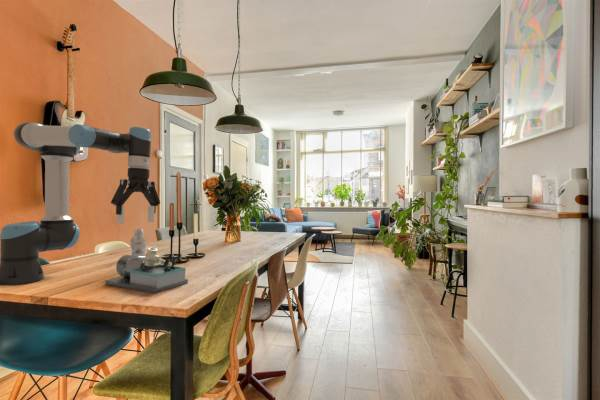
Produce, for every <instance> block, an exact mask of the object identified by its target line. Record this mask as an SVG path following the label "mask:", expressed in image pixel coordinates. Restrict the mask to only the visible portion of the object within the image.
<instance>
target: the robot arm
mask: <svg viewBox="0 0 600 400" xmlns="http://www.w3.org/2000/svg"><path fill="white" fill-rule="evenodd" d="M13 137H14V140H15V141H16V143H18V145H20V147H23V148H25V149H27V150H29V151H34V152H40V158H41V159H43V160H44V166H45V167H44V168H45V170H44V171H45V172H44V216H43V217H41V219H40V221H34V220H33V221H30V220H29V221H21V222H14V223H9V224H6V225H4V226H3V227H2V228H1V229H0V230H1V232H0V286H14V285H23V284H29V283H31V284H32V283H34V282H38V281H42V280H43V279H45V277H44V275H45V273H44V270H43V268H42V265H41V263H40V259H39V257H40V256H39V255H40V254H39V253H42V252H50V251H51V252H52V251H57V250H58V251H61V250H65V249H66V250H67V249H71V248H72V247H74V246H76V244H77V242H79V239H80V234H81V232H80V228H79V225H78V224H77V223H76V222H74V218H73V217H71V216H70V163H71V162H72V161H73V160H74V159H75V156H77V155H78V154H79V153H80V152H79V151H80V150H81V148H86V149H87V148H88V149H95V150H101V151H108V152H109V153H111V154H113V153H114V154H124V153H125V154H128V156H127V159H128V160H127V166H128V168H127V178H128V179H127V178H126V179H125V178H123V179H121V178H120V180H119V185H118V187H117V188H116V191H115V193H114V195H113V197H112V199H111V201H110V203H111V204H112V205H113V206H114V207H115V215H116V218H117V219H116V224H118V225H124V224H125V212H126V211H125V210H126V209H125V205H124V204H125V203H126V202H127V200H128V199H129V198H130V197H131V195H132V194H133V193H141V194H143V196H144V197H145V199H146V201H147V202H148V203H149V205H148V207H147V222H148V223H155V214H156V207H158V206H159V205H160V204H161V200H160V198H159V195H158V192H157V190H156V183H155V181H153V180H152V181H149V178H150V169H149V168H150V166H151V165H150V163H151V145H152V132H151V130H150V129H148V128H145V127H142V126H132V127H130V128H129V131H128V133H119V132H116V131H111V130H106V129H102V128H98V127H93V126H89V125H87V124H80V123H78V124H77V123H76V124H73V125H48V124H45V123H44V124H43V123H38V122H32V121H31V122H30V121H28V122H22V123H20V124H18V125H17V126H16V127H15V129H14V131H13Z"/></svg>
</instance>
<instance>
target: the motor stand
mask: <svg viewBox="0 0 600 400" xmlns="http://www.w3.org/2000/svg"><path fill="white" fill-rule="evenodd" d="M145 261H146V260H145V257H144V256H136V255H132V254H124V255H122V256H121V257H120V258H119V259H118V261H117V263H116V267H115V269H116V272H117V274H118V275H119V276H120V277H119V276H118V277H116V278H111V279H107V280H105V286H106V285H108V286H113V287H118V288H123V289H126V290H127V289H128V290H134V291H138V292H143V293H149V294H155V293H156V294H157V293H159V292H160V293H161V292H163V291H166V290H169V289H172V288H177V287H179V286H182V285H185V284H189V283H188V280H189V278H186V267H183V266H175V265H174V269H173V270H172V269H171V270H170V271H168V270H167V272H165V271H163V270H164V269H166V268H165V267H163V264H161V263H158V264H154V266H146V265H144V264H145ZM171 266H172V265H171ZM171 266H168V268H170V267H171Z"/></svg>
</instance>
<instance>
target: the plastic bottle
mask: <svg viewBox="0 0 600 400" xmlns="http://www.w3.org/2000/svg"><path fill="white" fill-rule="evenodd" d="M133 233H134V235H133V236H132V237H131V239H130V249H131V255H136V256H144V257H145V256H146V247H147V238H146V237H145V235H144V229H143V228H135V229H134V230H133Z"/></svg>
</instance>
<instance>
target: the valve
mask: <svg viewBox="0 0 600 400" xmlns="http://www.w3.org/2000/svg"><path fill="white" fill-rule="evenodd" d="M158 250H159V249H158V248H155V247H148V248H147V250H146V253H145V260H146V261H145V264H144V265H146V266H154V265H156V264H162V265H163V267H165V268H166V269H164V270H163V271H165V272H167V270H168V271H170V270H171V269H172V270H173V269H174V266H175V265H177V264H178V262H177V261H176V260H177V257H175V256H173V255H170V256H169V258H165V259H164V258H162V257H161V255H157V253H158ZM168 266H171V267H170V268H168Z"/></svg>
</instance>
